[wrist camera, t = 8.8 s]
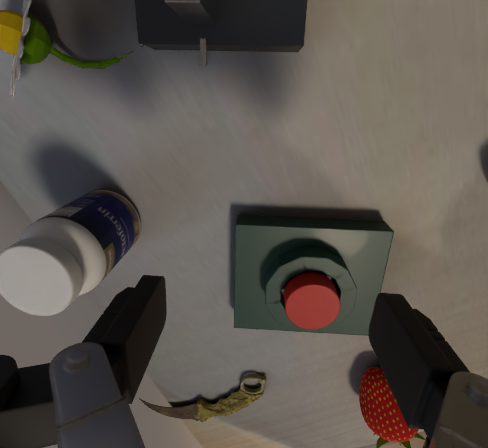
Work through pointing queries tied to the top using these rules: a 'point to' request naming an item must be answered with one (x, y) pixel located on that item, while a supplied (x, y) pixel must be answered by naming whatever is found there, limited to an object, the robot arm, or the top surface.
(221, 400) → the knife
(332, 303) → the button
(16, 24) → the decorative flower
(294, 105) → the top surface
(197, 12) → the gray block
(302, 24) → the panel
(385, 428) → the fruit
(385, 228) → the button block
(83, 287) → the pill bottle
